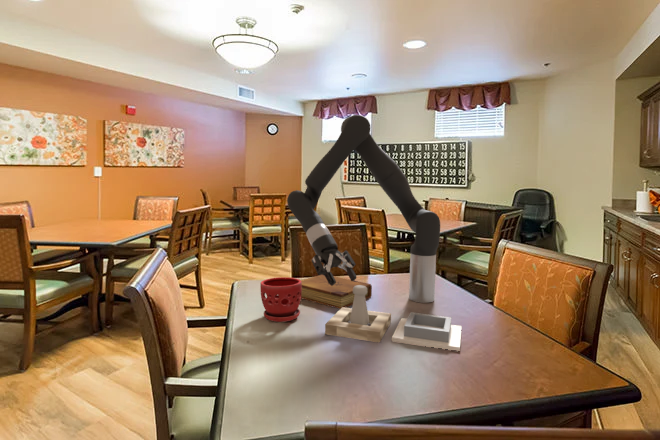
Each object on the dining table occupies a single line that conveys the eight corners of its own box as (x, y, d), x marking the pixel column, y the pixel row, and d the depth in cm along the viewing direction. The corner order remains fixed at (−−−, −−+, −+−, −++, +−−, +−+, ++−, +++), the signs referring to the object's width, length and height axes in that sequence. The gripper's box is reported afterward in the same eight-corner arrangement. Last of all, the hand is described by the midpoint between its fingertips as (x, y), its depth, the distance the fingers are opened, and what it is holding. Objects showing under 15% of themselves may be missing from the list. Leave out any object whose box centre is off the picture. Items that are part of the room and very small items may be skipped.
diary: (371, 298, 153) (371, 283, 152) (341, 311, 139) (342, 294, 138) (324, 286, 167) (324, 273, 167) (293, 297, 153) (293, 282, 152)
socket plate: (401, 321, 127) (401, 308, 127) (461, 329, 121) (462, 316, 121) (391, 341, 112) (392, 326, 112) (459, 351, 106) (460, 336, 106)
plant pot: (308, 314, 133) (309, 278, 132) (288, 327, 122) (288, 288, 120) (275, 308, 139) (275, 273, 138) (252, 320, 127) (252, 283, 126)
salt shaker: (367, 332, 118) (368, 289, 117) (348, 331, 119) (349, 288, 118) (369, 325, 124) (370, 284, 122) (351, 323, 125) (352, 282, 124)
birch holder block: (342, 316, 132) (342, 307, 131) (390, 322, 126) (391, 313, 126) (325, 334, 117) (325, 324, 116) (379, 342, 111) (379, 332, 111)
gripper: (309, 235, 126) (332, 279, 118) (343, 231, 135) (366, 271, 128) (299, 249, 131) (321, 292, 123) (332, 245, 140) (354, 284, 132)
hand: (344, 281), depth 125 cm, fingers open, 8 cm apart
